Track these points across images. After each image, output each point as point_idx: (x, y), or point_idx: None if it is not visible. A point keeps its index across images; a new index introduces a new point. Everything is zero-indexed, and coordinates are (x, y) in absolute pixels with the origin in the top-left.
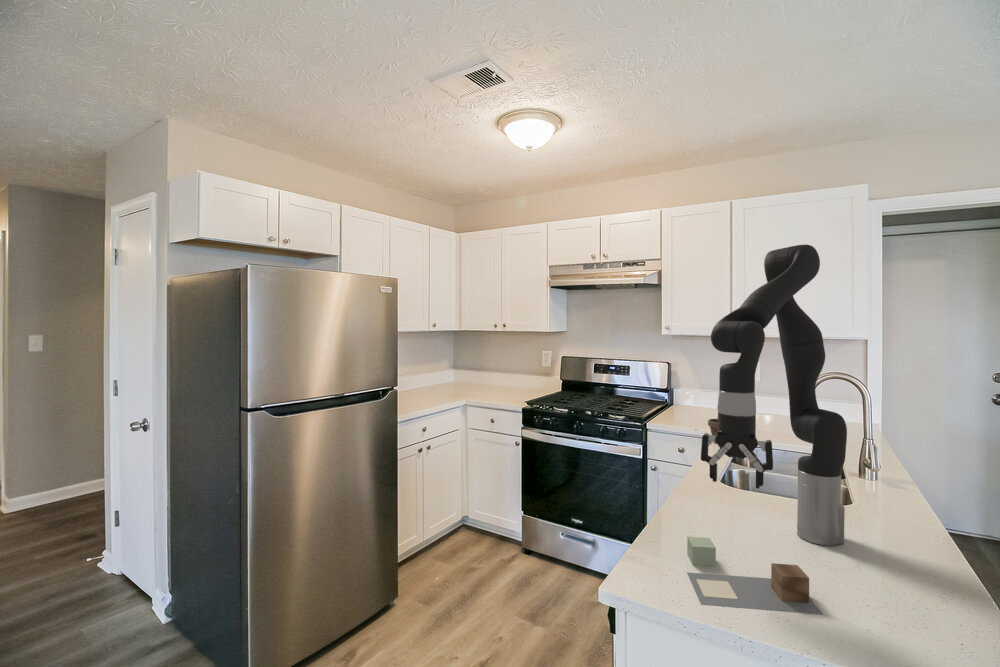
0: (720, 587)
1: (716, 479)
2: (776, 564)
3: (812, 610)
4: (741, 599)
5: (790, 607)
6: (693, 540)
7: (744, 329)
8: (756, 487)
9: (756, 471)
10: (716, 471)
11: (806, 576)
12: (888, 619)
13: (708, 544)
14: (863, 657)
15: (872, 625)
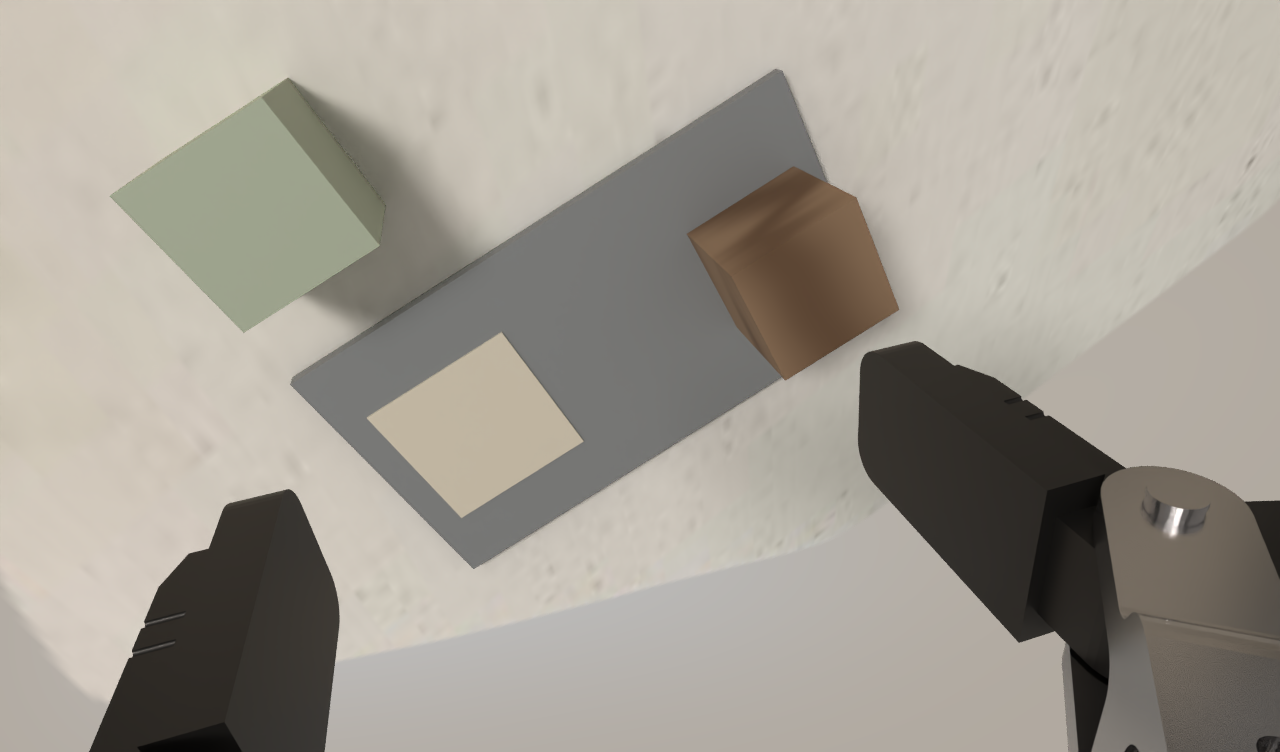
0: (492, 408)
1: (316, 569)
2: (756, 272)
3: None
4: (595, 430)
5: None
6: (192, 235)
7: None
8: (875, 469)
9: (1029, 623)
10: (302, 696)
11: (888, 301)
12: (1088, 149)
13: (314, 226)
14: None
15: (1021, 240)
